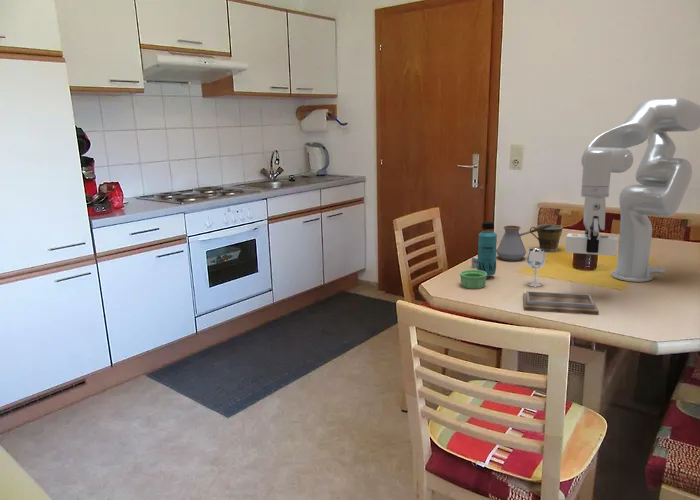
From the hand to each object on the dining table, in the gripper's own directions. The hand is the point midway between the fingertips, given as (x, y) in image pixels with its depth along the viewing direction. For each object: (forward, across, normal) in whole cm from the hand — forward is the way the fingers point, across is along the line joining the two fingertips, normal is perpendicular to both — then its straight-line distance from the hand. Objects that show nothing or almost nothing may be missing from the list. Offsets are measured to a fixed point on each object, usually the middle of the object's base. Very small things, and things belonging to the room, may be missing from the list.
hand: (590, 249), depth 160 cm
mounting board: (+15, -11, +9) cm, 21 cm away
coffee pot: (+15, +40, +18) cm, 46 cm away
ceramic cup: (+15, +58, +9) cm, 60 cm away
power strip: (+1, 0, 0) cm, 1 cm away
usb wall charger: (+15, +28, +33) cm, 46 cm away
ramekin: (+15, +4, +35) cm, 39 cm away
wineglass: (+15, +8, +15) cm, 23 cm away
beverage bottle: (+15, +14, +31) cm, 37 cm away
